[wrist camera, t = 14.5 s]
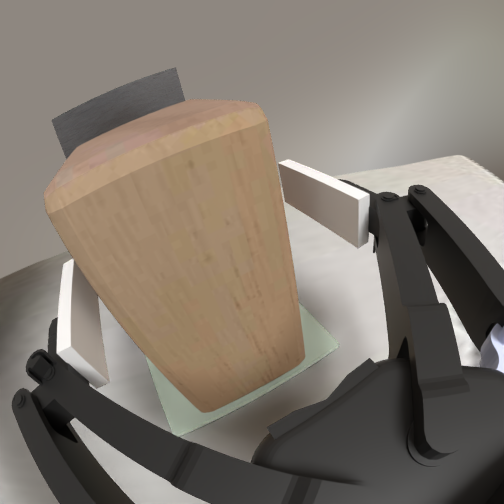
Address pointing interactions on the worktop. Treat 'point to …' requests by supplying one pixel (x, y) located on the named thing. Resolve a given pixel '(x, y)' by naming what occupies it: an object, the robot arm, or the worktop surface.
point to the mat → (190, 418)
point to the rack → (117, 108)
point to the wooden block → (188, 244)
